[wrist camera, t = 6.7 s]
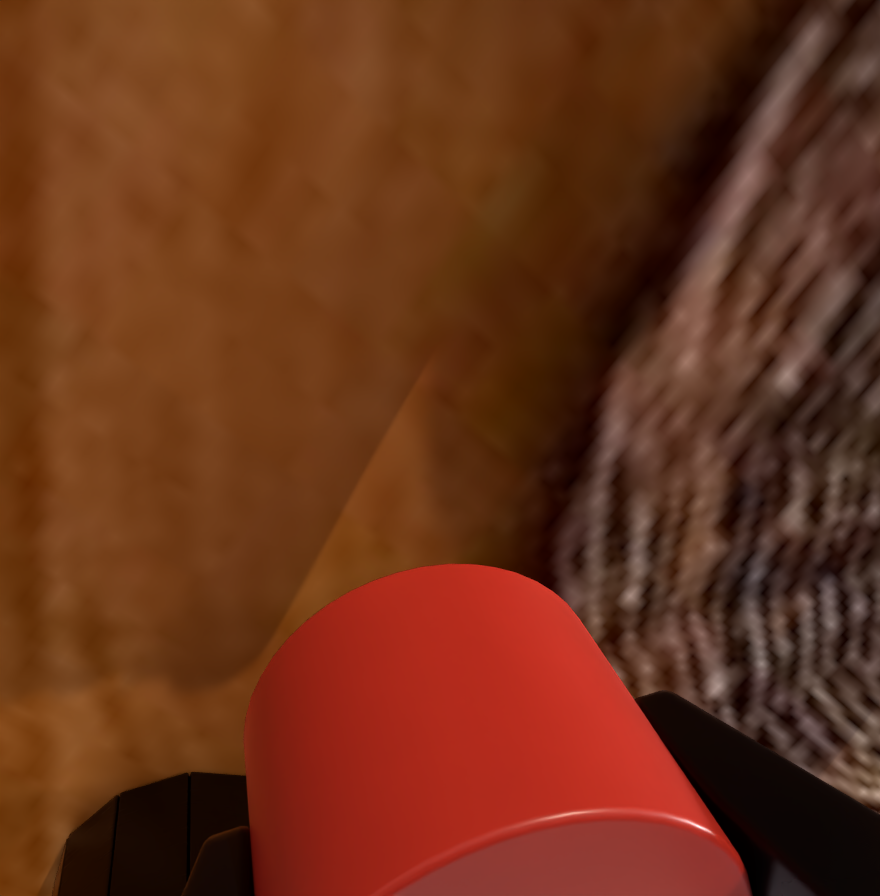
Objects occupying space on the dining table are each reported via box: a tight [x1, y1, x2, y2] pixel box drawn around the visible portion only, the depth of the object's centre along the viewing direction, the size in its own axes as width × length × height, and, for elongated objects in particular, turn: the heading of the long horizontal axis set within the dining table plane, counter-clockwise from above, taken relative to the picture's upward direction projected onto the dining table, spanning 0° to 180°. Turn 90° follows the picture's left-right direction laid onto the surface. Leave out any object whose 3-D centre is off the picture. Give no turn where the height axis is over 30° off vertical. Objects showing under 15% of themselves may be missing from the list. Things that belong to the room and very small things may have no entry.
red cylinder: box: [243, 564, 753, 896], centre depth 8 cm, size 4×4×3 cm
